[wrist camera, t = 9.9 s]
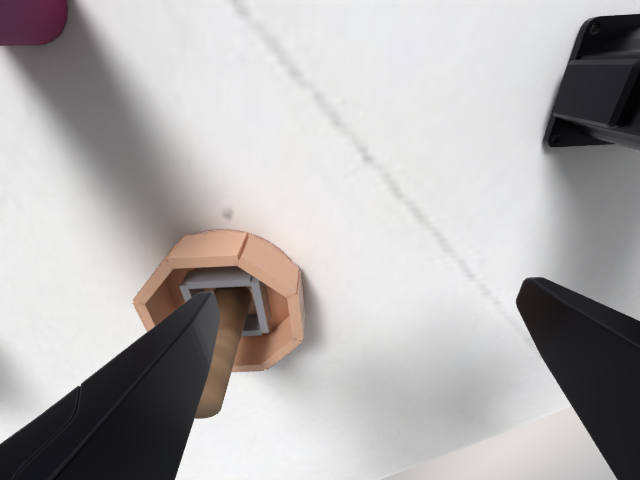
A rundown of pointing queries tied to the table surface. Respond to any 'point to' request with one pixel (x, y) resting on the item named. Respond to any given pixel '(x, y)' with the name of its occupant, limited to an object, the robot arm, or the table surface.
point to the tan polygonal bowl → (232, 271)
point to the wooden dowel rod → (224, 346)
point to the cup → (31, 21)
